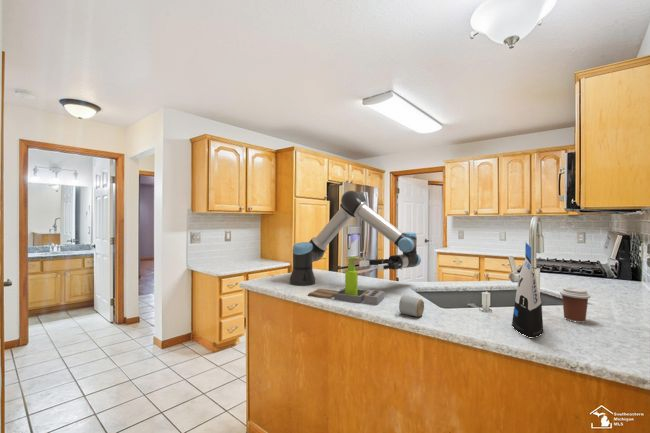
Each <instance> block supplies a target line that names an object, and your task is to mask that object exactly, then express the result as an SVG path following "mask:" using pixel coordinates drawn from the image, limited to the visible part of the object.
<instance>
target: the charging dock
mask: <svg viewBox="0 0 650 433" xmlns="http://www.w3.org/2000/svg"><path fill="white" fill-rule="evenodd" d="M337 291H338V292H336V293H335V296H334V300H335V301H339V302H340V301H341V302H348V303H353V304H354V303H355V304H362V303H364V304H365V305H371V306H372V305H373V306H378V305H379V304H380V303H382V301H383V300H384V299H385V290H384V291H383V290H377V289H371V290H367V289H360V288H357V296H355V295H347V294H345V287H343V288H341V289H340V290H337Z"/></svg>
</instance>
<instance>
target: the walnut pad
mask: <svg viewBox="0 0 650 433" xmlns="http://www.w3.org/2000/svg"><path fill="white" fill-rule="evenodd" d="M338 291H339V290H333V289H327V288H317V289H315V290H313V291H311V292H309V293H307V296H308V297H314V298H320V299H321V298H322V299H329V300H331V299H332V298H335V293H336V292H338Z"/></svg>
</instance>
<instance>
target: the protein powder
mask: <svg viewBox="0 0 650 433" xmlns="http://www.w3.org/2000/svg"><path fill="white" fill-rule="evenodd" d="M524 247H525V249H524V252H525V256H524V257H525V259H524V261H523V263H522V266H521V269H520V272H519V275H518V279H517V280H518V281H517V287H516V293H515V294H516V295H515V299H514V307H513V312H512V313H513V314H512V320H511V327H512V326H513V327H514V328H513V327H512V328H513V330H515V329H516V330H517V331H518V332H520V333H521V334H520V333H519V334H520V335H522V334H524V335H526V336H528V337H535V338H537V337H536V336H539V335H540V334H542V333H543V334H544V322H543V321H544V319H543V307H542V306H543V303H542V300H541V299H542V298H541V296H540V292H539V289H538V284H537V283H538V282H537V276H536V274H535V271H534V269H533V266H532V247H531V246H530V244H528V243H527V242H525V246H524ZM516 330H515V331H516ZM517 331H516V332H517ZM518 332H517V333H518ZM543 334H542V335H543ZM524 335H523V336H524ZM526 336H525V337H526ZM540 336H541V335H540ZM540 336H539V337H540ZM528 337H527V338H528Z"/></svg>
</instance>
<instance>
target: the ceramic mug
mask: <svg viewBox="0 0 650 433" xmlns="http://www.w3.org/2000/svg"><path fill="white" fill-rule="evenodd" d="M398 309H399V313H400V314H401V315H406V316H410V317H411V316H412V317H415V318H420V317H421V316H422V315H423V314H424V310H425V302H424V300H423V299H421V298H419V297H415V296H412V295H411V296H410V295H407V294H402V296H401V297H400V298H399V304H398Z"/></svg>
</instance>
